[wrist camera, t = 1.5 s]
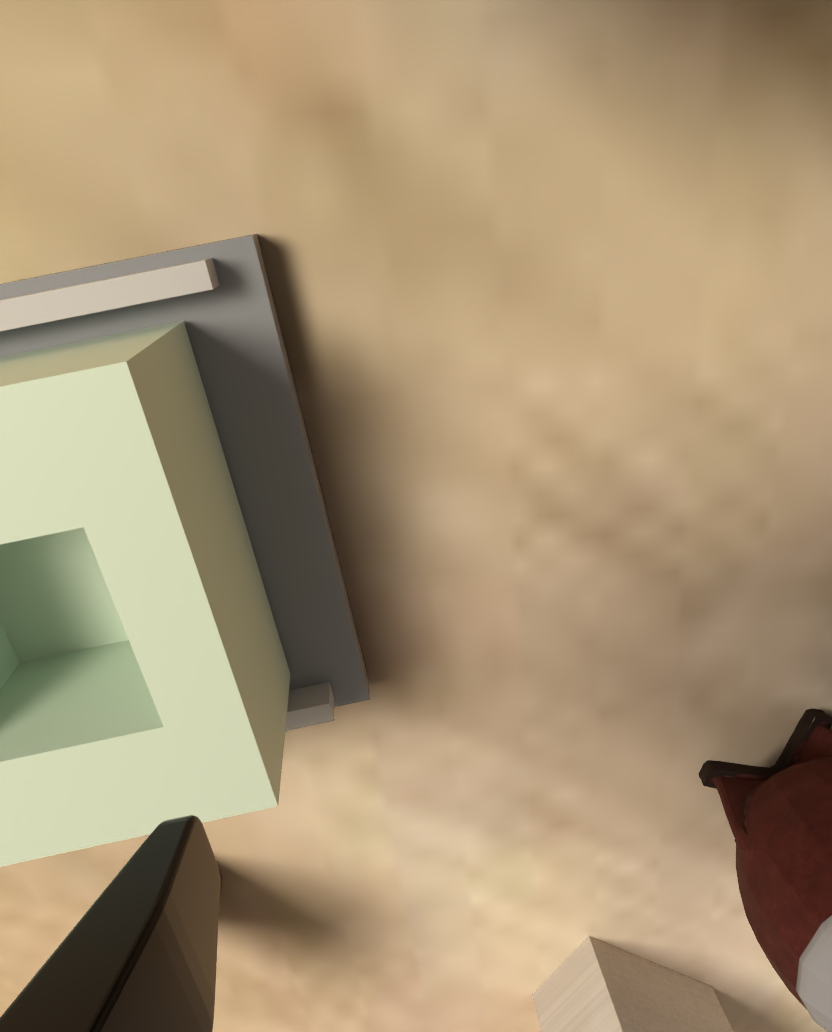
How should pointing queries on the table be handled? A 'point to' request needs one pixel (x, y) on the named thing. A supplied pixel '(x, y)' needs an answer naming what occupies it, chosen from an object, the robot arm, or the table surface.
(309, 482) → the guide board
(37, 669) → the sliding block
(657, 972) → the tea bag
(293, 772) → the table surface
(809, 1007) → the mate gourd
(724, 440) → the table surface
